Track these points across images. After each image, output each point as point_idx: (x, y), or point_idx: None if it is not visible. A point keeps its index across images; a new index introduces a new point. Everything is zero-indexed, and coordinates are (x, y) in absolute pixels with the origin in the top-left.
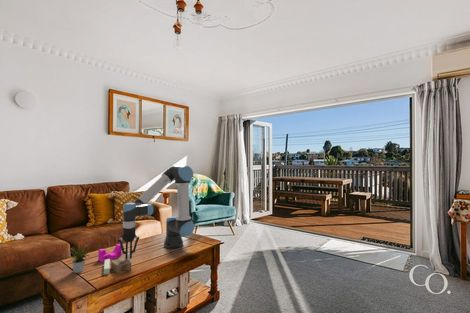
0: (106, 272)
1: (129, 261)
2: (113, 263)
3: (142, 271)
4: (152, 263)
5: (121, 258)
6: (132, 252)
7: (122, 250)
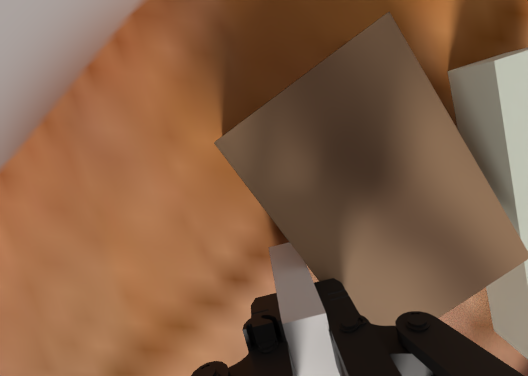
0: (491, 58)
1: (257, 195)
2: (476, 176)
3: (72, 84)
4: (26, 305)
5: None
6: (241, 368)
7: (476, 357)
